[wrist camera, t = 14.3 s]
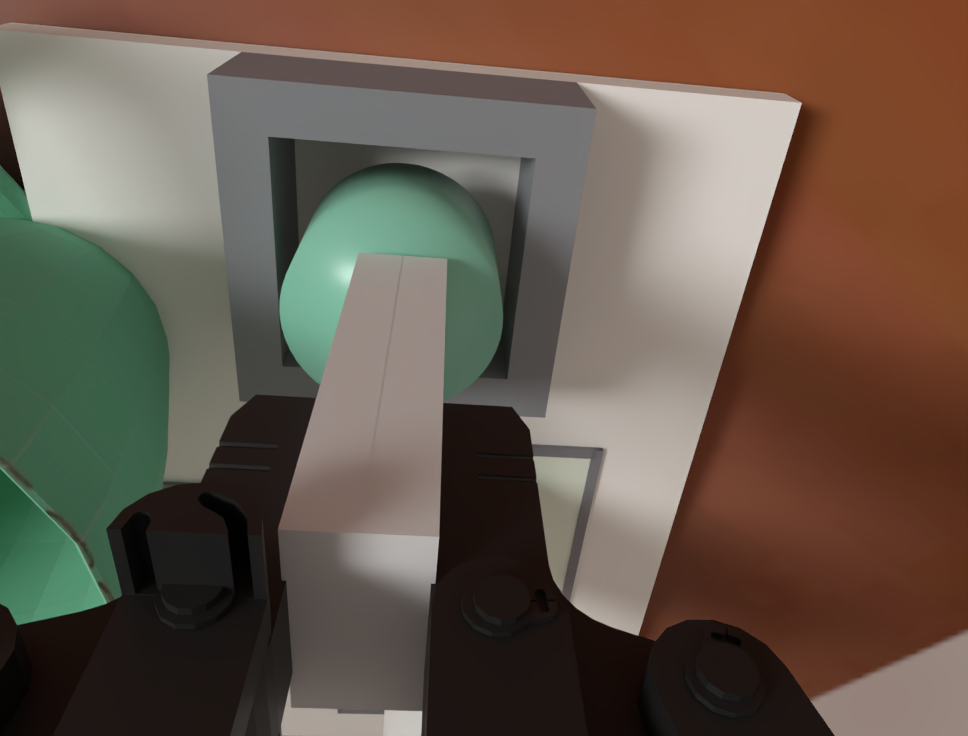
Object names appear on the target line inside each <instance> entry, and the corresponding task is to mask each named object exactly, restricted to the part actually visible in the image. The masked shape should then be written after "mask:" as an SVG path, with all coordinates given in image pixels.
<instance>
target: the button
mask: <svg viewBox="0 0 968 736" xmlns="http://www.w3.org/2000/svg"><path fill="white" fill-rule="evenodd" d="M359 252H361V253H375V254H389V255H402V256H416V257H430V258H444V259H447V285H446V320H445V354H444V389H443V401H445V400H447V399H449V398H452V397H454V396H455V395H457V394H458V393H460V392H462V391H463V390H465V389H466V388H467V387H468V386H470V385H471V384H472V383H473V382H474V381H475V380H476V379H477V378H478V377H479V376H480V375H481V374H482V373H483V372H484V370H485V369H486V367H487V366H488V365H489V363H490V362H491V360H492V358H493V356H494V354H495V352H496V350H497V347H498V344H499V341H500V338H501V333H502V328H503V307H502V298H501V290H500V282H499V275H498V267H497V259H496V252H495V244H494V238H493V234H492V230H491V227H490V224H489V222H488V219H487V217H486V215H485V213H484V212H483V210H482V208H481V207H480V205H479V204H478V203H477V201H476V200H475V199H474V197H473V196H472V195H471V194H470V193H469V192H468V191H467V190H466V189H465V188H464V187H462V186H461V185H460V184H459V183H457V182H456V181H455V180H453V179H451V178H450V177H448V176H446V175H445V174H443V173H440V172H438V171H436V170H433V169H431V168H427V167H424V166H420V165H415V164H409V163H386V164H378V165H374V166H370V167H366V168H364V169H361V170H359V171H356V172H354V173H352V174H351V175H349V176H347V177H345V178H344V179H342V180H341V181H340V182H339V183H337V184H336V185H335V186H334V187H333V188H332V189H331V190H330V191H329V192H328V193H327V194H326V195H325V196H324V198H323V199H322V200H321V202H320V203H319V205H318V207H317V209H316V211H315V212H314V214H313V217H312V219H311V221H310V223H309V225H308V227H307V230H306V232H305V234H304V236H303V238H302V240H301V243H300V245H299V247H298V249H297V251H296V253H295V256H294V258H293V260H292V262H291V264H290V266H289V269H288V271H287V273H286V276H285V279H284V282H283V285H282V289H281V295H280V311H279V313H280V320H281V327H282V330H283V334H284V337H285V340H286V342H287V344H288V346H289V349H290V351H291V352H292V354H293V356H294V357H295V359H296V361H297V362H298V363H299V364H300V366H301V367H302V368H303V369H304V371H305V372H306V373H307V374H308V375H309V376H310V377H311V378H312V379H313V380H314V381H316V382H317V383H318V384H319V385H320V383H321V380H322V377H323V373H324V370H325V366H326V363H327V359H328V356H329V353H330V349H331V346H332V342H333V339H334V335H335V332H336V329H337V325H338V322H339V318H340V315H341V311H342V308H343V305H344V301H345V298H346V294H347V291H348V288H349V284H350V281H351V277H352V274H353V270H354V267H355V264H356V260H357V257H358V253H359Z"/></svg>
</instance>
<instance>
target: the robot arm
mask: <svg viewBox="0 0 968 736" xmlns="http://www.w3.org/2000/svg"><path fill="white" fill-rule="evenodd" d="M446 285H447V259H444V258H430V257H416V256H402V255H389V254H375V253H361V252H359V253H358V257H357V260H356V264H355V267H354V270H353V274H352V277H351V281H350V284H349V288H348V291H347V294H346V298H345V301H344V305H343V308H342V311H341V315H340V318H339V322H338V325H337V329H336V332H335V335H334V339H333V342H332V346H331V349H330V353H329V356H328V359H327V363H326V366H325V370H324V373H323V377H322V380H321V383H320V387H319V390H318V394H317V397H316V398H309V397H292V396H275V395H257V394H256V395H255V396H254V397H253V398H251V399H250V400H249V401H248V402H247V403H245V404H244V405H243V406H242V407H241V408H239V409H238V410H237V411H236V412H235V413H233V414H232V415H231V416H230V419H229V421H228V423H227V425H226V427H225V430H224V432H223V434H222V436H221V439H220V441H219V447H216V450H215V452H214V454H213V456H212V458H211V461H210V463H209V469H206V472H205V474H204V476H203V478H202V481H201V483H191V484H178V485H174V486H171V487H168V488H165V489H162V490H158V491H155V492H152V493H149V494H147V495H145V496H144V497H142V498H141V499H139V500H137V501H136V502H134V503H132V504H131V505H129V506H127V507H126V508H124V509H123V510H122V511H121V512H120V513H119V515H118V516H117V517H116V518H115V519H114V520H113V522H112V523H111V524H110V525H109V526H108V527H107V528H106V531H107V535H108V539H109V543H110V547H111V551H112V556H113V560H114V564H115V568H116V572H117V576H118V580H119V584H120V589H121V593H122V595H121V597H119V598H117V599H115V600H113V601H111V602H109V603H106V604H104V605H101V606H97V607H94V608H91V609H87V610H84V611H80V612H76V613H71V614H66V615H62V616H57V617H52V618H48V619H43V620H39V621H34V622H29V623H25V624H20V625H17V624H16V622H15V620H14V618H13V616H12V614H11V612H10V611H9V609H8V608H7V607H6V606H4V605H2V604H0V736H282V731H281V723H282V719H283V714H284V710H285V705H286V700H287V696H288V691H289V687H290V698H291V708H320V709H357V710H395V711H422V729H421V736H834V734H833V733H832V731H831V730H830V728H829V727H828V726H827V724H826V723H825V721H824V720H823V718H822V717H821V716H820V714H819V713H818V711H817V710H816V709H815V707H814V706H813V704H812V703H811V701H810V700H809V698H808V697H807V696H806V694H805V693H804V691H803V690H802V688H801V687H800V686H799V684H798V683H797V681H796V680H795V678H794V677H793V675H792V674H791V673H790V671H789V670H788V668H787V667H786V666H785V665H784V664H783V662H782V661H781V660H780V659H779V658H778V657H777V656H776V655H775V654H774V653H773V652H772V651H771V650H770V649H769V647H768V646H767V645H766V644H764V643H763V642H761V641H759V640H758V639H756V638H755V637H753V636H751V635H750V634H748V633H747V632H745V631H744V630H742V629H740V628H737V627H734V626H731V625H728V624H725V623H721V622H718V621H715V620H686V621H683V622H681V623H678V624H676V625H673V626H671V627H668V628H666V630H665V631H664V632H663V633H662V634H661V636H660V637H659V638H658V639H657V640H656V641H653V640H650V639H647V638H644V637H641V636H637V635H634V634H631V633H628V632H625V631H622V630H619V629H616V628H613V627H610V626H608V625H605V624H603V623H601V622H598V621H596V620H594V619H592V618H590V617H589V616H587V615H586V614H584V613H583V612H581V611H580V610H578V609H577V608H576V607H575V606H574V605H573V604H572V603H571V602H570V601H569V600H568V599H567V598H566V597H565V596H564V595H563V594H562V593H561V590H560V589H559V588H558V586H557V585H556V583H555V582H554V580H553V577H552V574H551V570H550V567H549V562H548V555H547V548H546V541H545V534H544V527H543V520H542V512H541V505H540V498H539V491H538V484H537V483H536V470H535V463H534V461H533V449H532V442H531V434H530V429H529V428H528V427H527V425H526V424H525V423H524V422H523V420H522V419H521V418H520V416H519V415H518V414H517V413H516V411H515V410H514V409H513V407H506V406H489V405H472V404H455V403H443V389H444V354H445V320H446Z"/></svg>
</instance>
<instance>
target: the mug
mask: <svg viewBox="0 0 968 736" xmlns="http://www.w3.org/2000/svg"><path fill="white" fill-rule="evenodd" d="M169 366H170V356H169V348H168V340H167V336H166V333H165V330H164V327H163V325H162V322H161V319H160V316H159V313H158V310H157V307H156V305H155V303H154V302H153V301H152V299H151V298H150V297H149V295H148V294H147V292H146V291H145V290H144V288H143V287H142V286H141V284H140V283H139V282H138V280H137V279H136V277H135V276H134V275H133V273H131V272H130V271H129V270H128V269H127V268H125V267H124V266H123V265H122V264H120V263H119V262H118V261H117V260H115V259H114V258H113V257H112V256H111V255H109V254H108V253H107V252H106V251H104V250H103V249H102V248H101V247H100V246H98V245H96V244H94V243H91V242H89V241H87V240H85V239H83V238H81V237H79V236H77V235H75V234H73V233H71V232H68V231H66V230H64V229H62V228H60V227H57V226H52V225H47V224H42V223H37V222H33V221H32V216H31V212H30V208H29V204H28V200H27V196H26V192H25V191H24V190H23V189H22V188H21V187H20V186H19V185H18V184H17V183H16V181H15V180H14V179H13V178H12V177H11V176H10V175H9V174H8V173H7V172H6V171H5V170H4V169H3V167H2V166H1V165H0V604H2V605H4V606H6V607H7V608H8V609H9V611H10V612H11V614H12V616H13V618H14V620H15V622H16V624H17V625H20V624H25V623H29V622H34V621H39V620H43V619H48V618H52V617H57V616H62V615H66V614H71V613H76V612H80V611H84V610H87V609H91V608H94V607H97V606H101V605H104V604H106V603H109V602H111V601H113V600H115V599H117V598H119V597H121V595H122V593H121V589H120V584H119V580H118V576H117V572H116V568H115V564H114V560H113V556H112V551H111V547H110V543H109V539H108V535H107V531H106V528H107V527H108V526H109V525H110V524H111V523H112V522H113V520H114V519H115V518H116V517H117V516H118V515H119V513H120V512H121V511H122V510H123V509H124V508H126V507H127V506H129V505H131V504H132V503H134V502H136V501H137V500H139V499H141V498H142V497H144V496H145V495H147V494H149V493H152V492H155V491H158V490H162V486H163V480H164V473H165V466H166V460H167V453H168V419H169Z"/></svg>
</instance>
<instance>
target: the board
mask: <svg viewBox="0 0 968 736" xmlns="http://www.w3.org/2000/svg"><path fill="white" fill-rule="evenodd" d="M0 88H1V92H2V96H3V101H4V105H5V109H6V113H7V117H8V121H9V125H10V130H11V134H12V138H13V142H14V146H15V150H16V154H17V159H18V163H19V167H20V171H21V175H22V179H23V183H24V188H25V192H26V196H27V200H28V204H29V208H30V212H31V216H32V221H33V222H37V223H42V224H47V225H52V226H57V227H60V228H62V229H64V230H66V231H68V232H71V233H73V234H75V235H77V236H79V237H81V238H83V239H85V240H87V241H89V242H91V243H94V244H96V245H98V246H100V247H101V248H102V249H103V250H104V251H106V252H107V253H108V254H109V255H111V256H112V257H113V258H114V259H115V260H117V261H118V262H119V263H120V264H122V265H123V266H124V267H125V268H127V269H128V270H129V271H130V272H131V273H133V275H134V276H135V277H136V279H137V280H138V282H139V283H140V284H141V286H142V287H143V288H144V290H145V291H146V292H147V294H148V295H149V297H150V298H151V299H152V301H153V302H154V303H155V305H156V307H157V310H158V313H159V316H160V319H161V322H162V325H163V327H164V330H165V333H166V336H167V340H168V348H169V356H170V366H169V419H168V453H167V460H166V466H165V473H164V480H163V486H162V489H165V488H168V487H171V486H174V485H178V484H191V483H201V481H202V478H203V476H204V474H205V472H206V469H209V463H210V461H211V458H212V456H213V454H214V452H215V450H216V447H219V441H220V439H221V436H222V434H223V432H224V430H225V427H226V425H227V423H228V421H229V419H230V416H231V415H232V414H233V413H235V412H236V411H237V410H238V409H239V408H241V407H242V406H243V405H244V404H245V403H247V402H248V401H249V400H250V399H251V398H253V397H254V396H255V395H256V394H257V395H275V396H292V397H309V398H316V397H317V394H318V390H319V387H320V385H319V384H318V383H317V382H316V381H314V380H313V379H312V378H311V377H310V376H309V375H308V374H307V373H306V372H305V371H304V369H303V368H302V367H301V366H300V364H299V363H298V362H297V361H296V359H295V357H294V356H293V354H292V352H291V351H290V349H289V346H288V344H287V342H286V340H285V337H284V334H283V330H282V327H281V320H280V313H279V311H280V295H281V289H282V285H283V282H284V279H285V276H286V273H287V271H288V269H289V266H290V264H291V262H292V260H293V258H294V256H295V253H296V251H297V249H298V247H299V245H300V243H301V240H302V238H303V236H304V234H305V232H306V230H307V227H308V225H309V223H310V221H311V219H312V217H313V214H314V212H315V211H316V209H317V207H318V205H319V203H320V202H321V200H322V199H323V198H324V196H325V195H326V194H327V193H328V192H329V191H330V190H331V189H332V188H333V187H334V186H335V185H336V184H337V183H339V182H340V181H341V180H342V179H344V178H345V177H347V176H349V175H351V174H352V173H354V172H356V171H359V170H361V169H364V168H366V167H370V166H374V165H378V164H386V163H409V164H415V165H420V166H424V167H427V168H431V169H433V170H436V171H438V172H440V173H443V174H445V175H446V176H448V177H450V178H451V179H453V180H455V181H456V182H457V183H459V184H460V185H461V186H462V187H464V188H465V189H466V190H467V191H468V192H469V193H470V194H471V195H472V196H473V197H474V199H475V200H476V201H477V203H478V204H479V205H480V207H481V208H482V210H483V212H484V213H485V215H486V217H487V219H488V222H489V224H490V227H491V230H492V234H493V238H494V244H495V252H496V259H497V267H498V275H499V282H500V290H501V298H502V307H503V328H502V333H501V338H500V341H499V344H498V347H497V350H496V352H495V354H494V356H493V358H492V360H491V362H490V363H489V365H488V366H487V367H486V369H485V370H484V372H483V373H482V374H481V375H480V376H479V377H478V378H477V379H476V380H475V381H474V382H473V383H472V384H471V385H470V386H468V387H467V388H466V389H465V390H463V391H462V392H460V393H458V394H457V395H455V396H454V397H452V398H449V399H447V400H445V401H443V403H455V404H472V405H489V406H506V407H513V409H514V410H515V411H516V413H517V414H518V415H519V416H520V418H521V419H522V420H523V422H524V423H525V424H526V425H527V427H528V428H529V429H530V434H531V442H532V449H533V461H534V463H535V470H536V483H537V484H538V491H539V498H540V505H541V512H542V520H543V527H544V534H545V541H546V548H547V555H548V562H549V567H550V570H551V574H552V577H553V580H554V582H555V583H556V585H557V586H558V588H559V589H560V590H561V593H562V594H563V595H564V596H565V597H566V598H567V599H568V600H569V601H570V602H571V603H572V604H573V605H574V606H575V607H576V608H577V609H578V610H580V611H581V612H583V613H584V614H586V615H587V616H589V617H590V618H592V619H594V620H596V621H598V622H601V623H603V624H605V625H608V626H610V627H613V628H616V629H619V630H622V631H625V632H628V633H631V634H634V635H637V636H638V635H639V632H640V628H641V625H642V622H643V619H644V615H645V612H646V609H647V606H648V602H649V599H650V596H651V593H652V589H653V586H654V583H655V580H656V576H657V573H658V570H659V567H660V563H661V560H662V557H663V554H664V550H665V547H666V544H667V541H668V537H669V534H670V531H671V528H672V524H673V521H674V518H675V515H676V511H677V508H678V505H679V502H680V498H681V495H682V492H683V489H684V485H685V482H686V479H687V476H688V472H689V469H690V466H691V462H692V459H693V456H694V453H695V449H696V446H697V443H698V440H699V436H700V433H701V430H702V427H703V423H704V420H705V417H706V414H707V410H708V407H709V404H710V401H711V397H712V394H713V391H714V388H715V384H716V381H717V378H718V375H719V371H720V368H721V365H722V362H723V358H724V355H725V352H726V349H727V345H728V342H729V339H730V336H731V332H732V329H733V326H734V323H735V319H736V316H737V313H738V309H739V306H740V303H741V300H742V296H743V293H744V290H745V287H746V283H747V280H748V277H749V274H750V270H751V267H752V264H753V261H754V257H755V254H756V251H757V248H758V244H759V241H760V238H761V235H762V231H763V228H764V225H765V222H766V218H767V215H768V212H769V209H770V205H771V202H772V199H773V196H774V192H775V189H776V186H777V183H778V179H779V176H780V173H781V170H782V166H783V163H784V160H785V157H786V153H787V150H788V147H789V143H790V140H791V137H792V134H793V130H794V127H795V124H796V121H797V117H798V114H799V111H800V108H801V104H802V103H801V102H799V101H798V100H796V99H794V98H792V97H790V96H788V95H786V94H785V93H775V92H764V91H753V90H742V89H731V88H720V87H709V86H698V85H688V84H677V83H666V82H655V81H644V80H633V79H622V78H611V77H601V76H590V75H579V74H568V73H557V72H546V71H535V70H525V69H514V68H503V67H492V66H481V65H470V64H459V63H448V62H438V61H427V60H416V59H405V58H394V57H383V56H372V55H361V54H351V53H340V52H329V51H318V50H307V49H296V48H285V47H274V46H264V45H253V44H242V43H231V42H220V41H209V40H198V39H188V38H177V37H166V36H155V35H144V34H133V33H122V32H111V31H101V30H90V29H79V28H68V27H57V26H46V25H35V24H24V23H14V22H11V23H7V24H3V25H0ZM383 723H384V710H357V709H320V708H291V698H290V687H289V691H288V696H287V700H286V705H285V710H284V714H283V719H282V723H281V731H282V736H383Z"/></svg>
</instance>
